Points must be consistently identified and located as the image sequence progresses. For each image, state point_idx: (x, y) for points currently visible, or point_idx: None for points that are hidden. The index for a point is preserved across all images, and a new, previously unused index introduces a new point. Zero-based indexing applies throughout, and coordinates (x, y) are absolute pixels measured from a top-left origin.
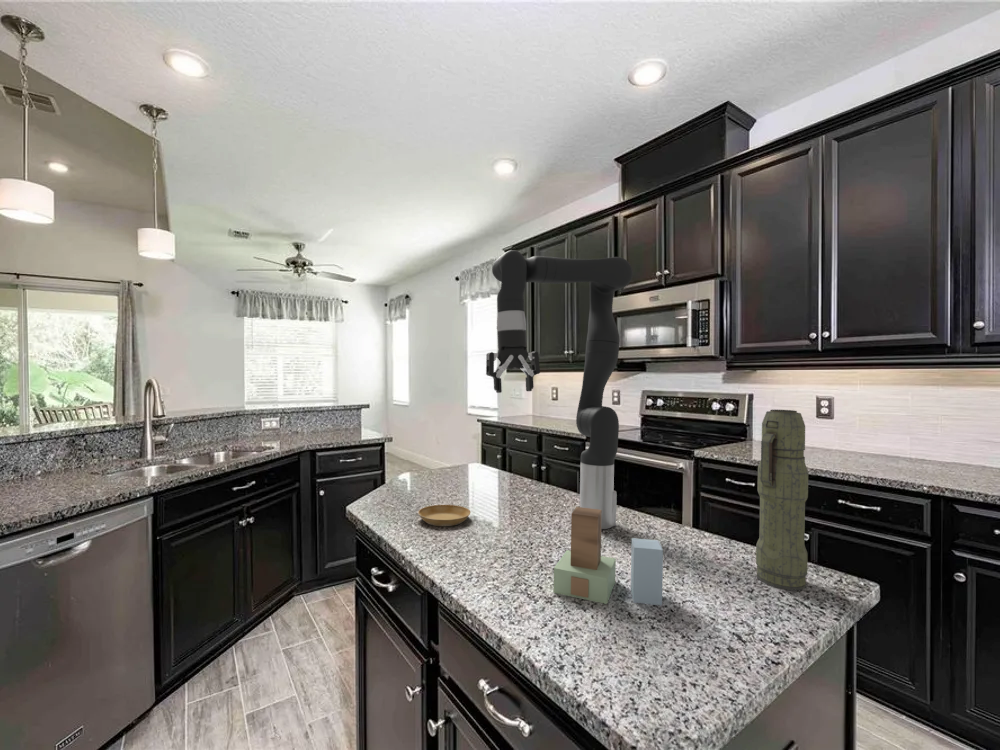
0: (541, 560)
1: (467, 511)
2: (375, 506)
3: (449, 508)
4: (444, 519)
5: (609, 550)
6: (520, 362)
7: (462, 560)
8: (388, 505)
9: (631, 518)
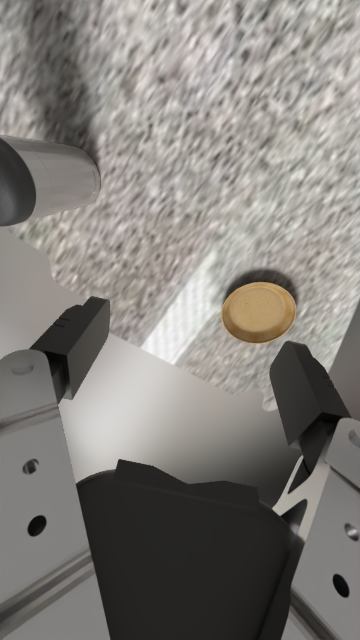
0: (254, 72)
1: (224, 306)
2: None
3: (233, 331)
4: (256, 310)
5: (124, 44)
6: (89, 548)
7: (352, 150)
8: None
9: None
